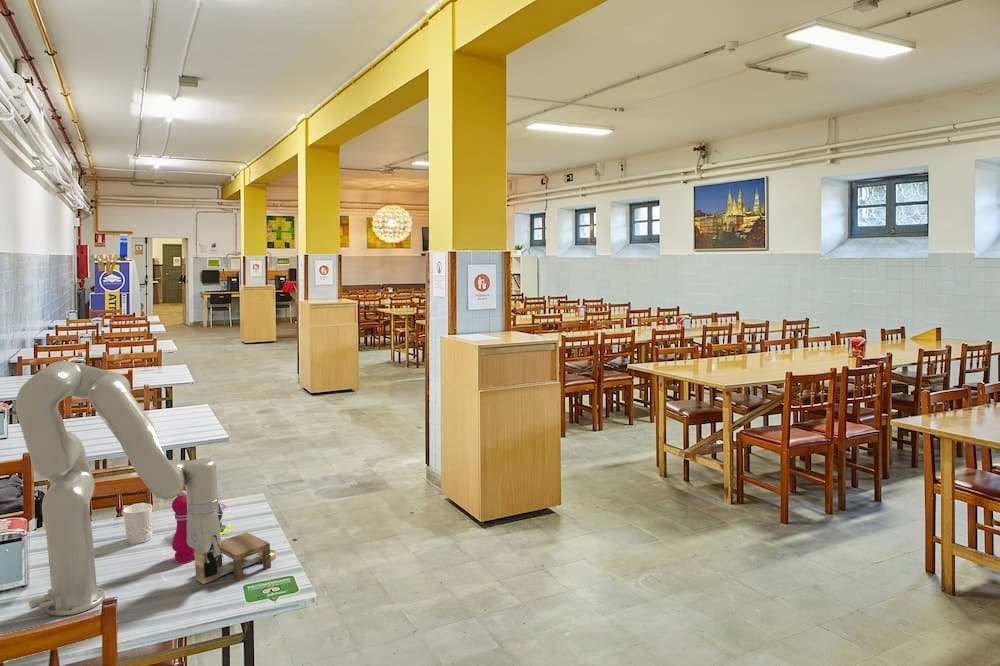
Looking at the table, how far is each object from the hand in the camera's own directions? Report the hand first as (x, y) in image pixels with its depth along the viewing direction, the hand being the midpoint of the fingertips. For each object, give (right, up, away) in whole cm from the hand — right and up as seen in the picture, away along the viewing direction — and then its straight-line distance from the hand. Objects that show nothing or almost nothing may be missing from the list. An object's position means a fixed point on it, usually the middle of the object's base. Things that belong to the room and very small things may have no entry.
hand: (206, 572), depth 184 cm
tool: (+4, -1, +5) cm, 7 cm away
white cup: (-32, 0, +27) cm, 42 cm away
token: (+11, -1, +13) cm, 18 cm away
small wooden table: (+7, -1, +8) cm, 10 cm away
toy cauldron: (-14, +1, +34) cm, 37 cm away
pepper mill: (-12, -1, +14) cm, 18 cm away
